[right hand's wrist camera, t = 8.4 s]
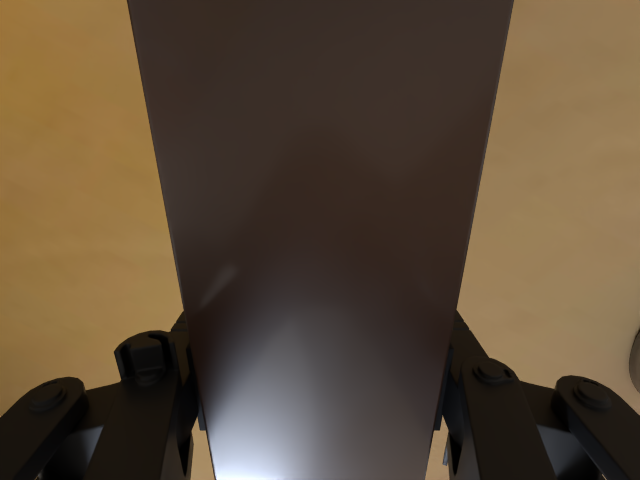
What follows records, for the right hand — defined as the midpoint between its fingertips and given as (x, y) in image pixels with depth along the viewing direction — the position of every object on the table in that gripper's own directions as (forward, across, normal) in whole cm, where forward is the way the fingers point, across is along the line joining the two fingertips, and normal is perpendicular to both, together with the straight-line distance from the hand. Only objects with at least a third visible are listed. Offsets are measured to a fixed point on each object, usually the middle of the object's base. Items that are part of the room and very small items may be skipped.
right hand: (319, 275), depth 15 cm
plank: (-1, 0, -11) cm, 11 cm away
